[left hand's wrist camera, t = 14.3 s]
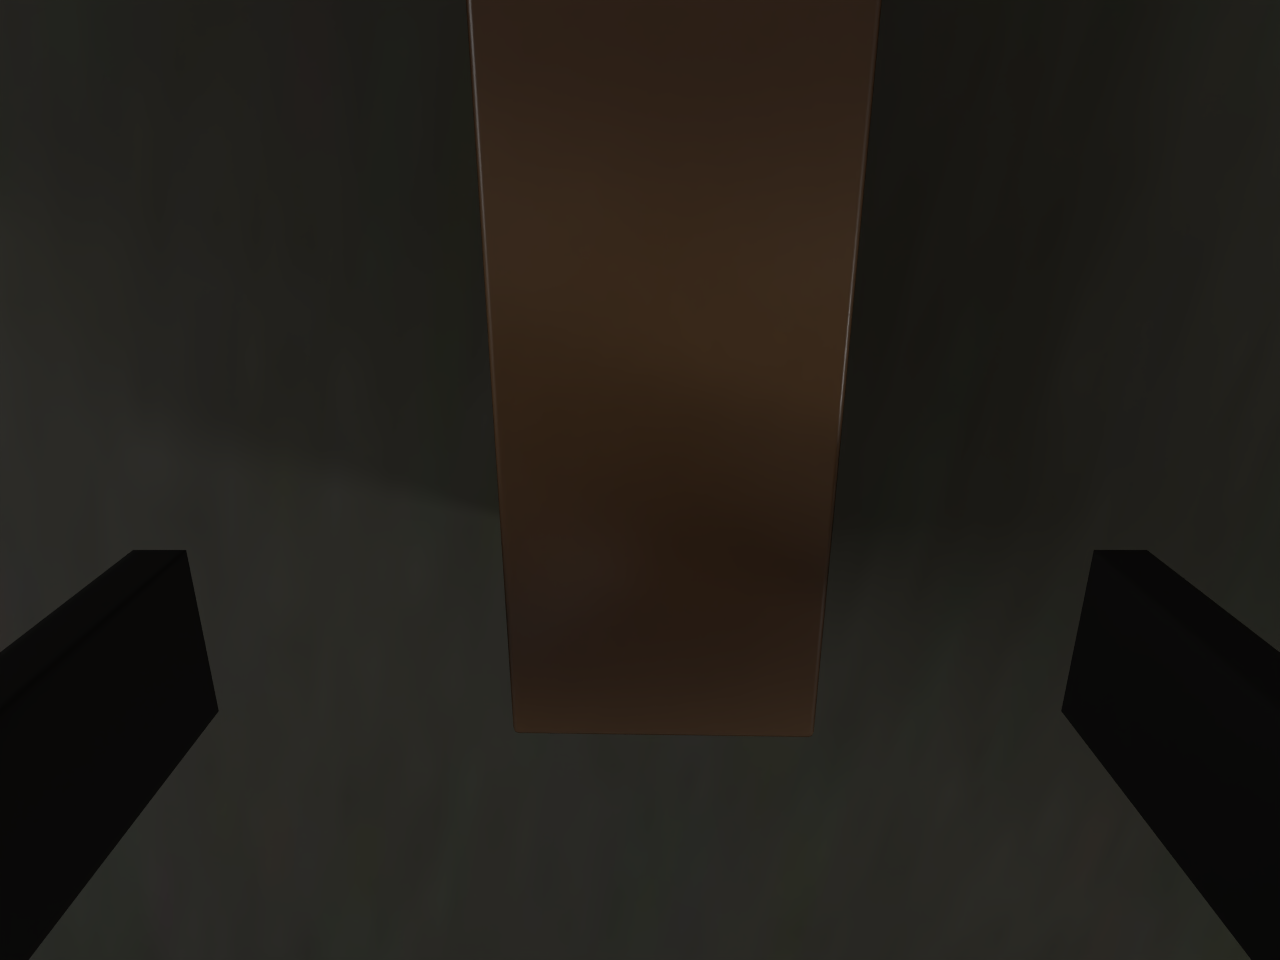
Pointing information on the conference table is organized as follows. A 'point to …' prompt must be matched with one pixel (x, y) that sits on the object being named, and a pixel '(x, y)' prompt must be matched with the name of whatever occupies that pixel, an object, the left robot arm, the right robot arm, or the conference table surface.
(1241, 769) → the left robot arm
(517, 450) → the bar
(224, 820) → the conference table surface
